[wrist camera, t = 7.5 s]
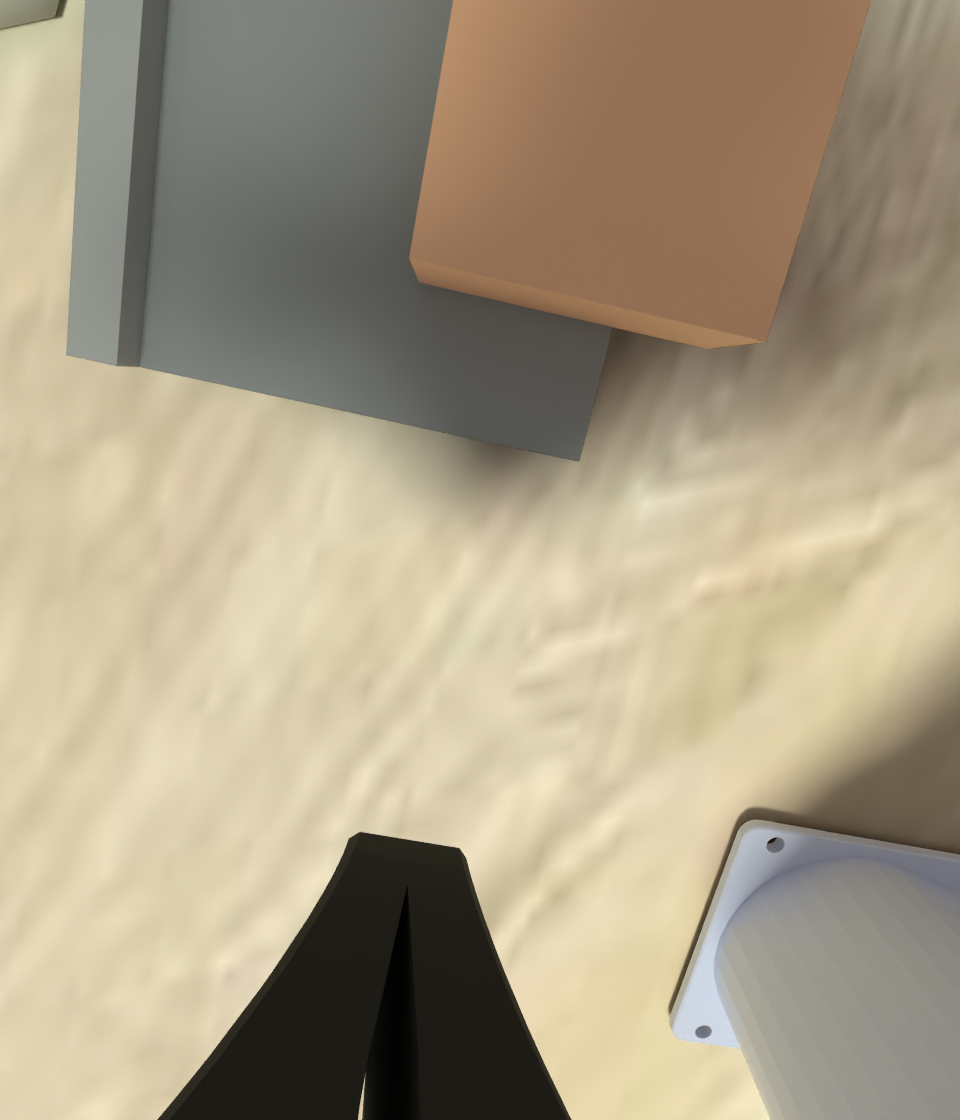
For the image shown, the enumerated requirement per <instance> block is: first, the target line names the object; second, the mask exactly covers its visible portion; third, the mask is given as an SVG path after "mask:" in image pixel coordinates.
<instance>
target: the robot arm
mask: <svg viewBox="0 0 960 1120" xmlns="http://www.w3.org/2000/svg"><path fill="white" fill-rule="evenodd" d="M774 837H778V838H777V839H776V841H774V842H773V843H768V844H767V842H768V841H769V840H770V839H772V838H774ZM669 1023H670V1026H671V1029H672V1032H673V1035H674V1036H675V1037H676V1038H678V1039H680V1040H683V1041H690V1042H697V1043H704V1044H711V1045H718V1046H725V1047H732V1048H739V1049H741V1050H742V1053H743V1055H744V1058H745V1060H746V1062H747V1065H748V1067H749V1070H750V1072H751V1074H752V1077H753V1079H754V1081H755V1084H756V1086H757V1089H758V1091H759V1093H760V1096H761V1098H762V1101H763V1103H764V1105H765V1108H766V1110H767V1112H768V1115H769V1117H770V1120H960V854H954V853H948V852H942V851H937V850H931V849H925V848H919V847H914V846H908V845H902V844H896V843H890V842H885V841H879V840H873V839H867V838H862V837H856V836H850V835H844V834H839V833H833V832H827V831H821V830H816V829H810V828H804V827H798V826H792V825H787V824H781V823H775V822H769V821H764V820H751V821H748V822H746V823H744V824H743V825H742V826H741V827H740V829H739V830H738V832H737V835H736V837H735V840H734V843H733V846H732V848H731V851H730V854H729V857H728V859H727V862H726V865H725V868H724V870H723V873H722V876H721V878H720V881H719V884H718V887H717V889H716V892H715V895H714V898H713V900H712V903H711V906H710V908H709V911H708V914H707V917H706V919H705V922H704V925H703V928H702V930H701V933H700V936H699V938H698V941H697V944H696V947H695V949H694V952H693V955H692V958H691V960H690V963H689V966H688V968H687V971H686V974H685V977H684V979H683V982H682V985H681V988H680V990H679V993H678V996H677V998H676V1001H675V1004H674V1007H673V1009H672V1012H671V1015H670V1019H669ZM365 1072H366V1073H365ZM364 1078H365V1088H364V1103H363V1118H362V1120H571V1118H570V1116H569V1114H568V1112H567V1110H566V1108H565V1106H564V1104H563V1101H562V1099H561V1097H560V1095H559V1093H558V1091H557V1089H556V1087H555V1085H554V1083H553V1081H552V1079H551V1077H550V1075H549V1072H548V1070H547V1068H546V1066H545V1064H544V1062H543V1060H542V1058H541V1055H540V1053H539V1051H538V1049H537V1047H536V1044H535V1042H534V1040H533V1038H532V1036H531V1033H530V1031H529V1029H528V1027H527V1024H526V1022H525V1020H524V1017H523V1015H522V1012H521V1010H520V1008H519V1005H518V1003H517V1001H516V998H515V996H514V993H513V991H512V989H511V986H510V984H509V981H508V979H507V977H506V974H505V972H504V969H503V967H502V964H501V962H500V959H499V957H498V954H497V951H496V949H495V946H494V944H493V941H492V938H491V935H490V932H489V930H488V927H487V924H486V921H485V919H484V916H483V913H482V910H481V907H480V904H479V901H478V898H477V895H476V892H475V888H474V885H473V882H472V878H471V875H470V871H469V868H468V864H467V860H466V857H465V856H464V854H463V853H462V851H461V850H460V848H455V847H449V846H443V845H437V844H431V843H424V842H418V841H412V840H406V839H400V838H394V837H388V836H381V835H375V834H369V833H363V832H359V833H357V834H356V835H354V836H352V837H351V838H349V840H348V843H347V845H346V848H345V851H344V853H343V856H342V858H341V860H340V862H339V864H338V866H337V868H336V870H335V872H334V874H333V876H332V878H331V880H330V882H329V883H328V885H327V887H326V889H325V891H324V892H323V894H322V896H321V897H320V899H319V901H318V902H317V904H316V906H315V907H314V909H313V911H312V912H311V914H310V916H309V917H308V919H307V921H306V922H305V924H304V925H303V927H302V928H301V930H300V931H299V933H298V934H297V936H296V937H295V939H294V940H293V942H292V943H291V945H290V946H289V948H288V949H287V951H286V952H285V954H284V955H283V957H282V958H281V960H280V961H279V963H278V964H277V966H276V967H275V969H274V970H273V972H272V973H271V974H270V976H269V977H268V979H267V980H266V982H265V983H264V984H263V986H262V987H261V988H260V990H259V991H258V992H257V994H256V995H255V996H254V998H253V999H252V1000H251V1002H250V1003H249V1004H248V1006H247V1007H246V1008H245V1010H244V1011H243V1012H242V1014H241V1015H240V1016H239V1018H238V1019H237V1020H236V1022H235V1023H234V1024H233V1026H232V1027H231V1028H230V1030H229V1031H228V1032H227V1034H226V1035H225V1036H224V1038H223V1039H222V1040H221V1042H220V1043H219V1044H218V1045H217V1047H216V1048H215V1049H214V1051H213V1052H212V1053H211V1055H210V1056H209V1057H208V1059H207V1060H206V1061H205V1062H204V1064H203V1065H202V1066H201V1067H200V1069H199V1070H198V1071H197V1072H196V1074H195V1075H194V1076H193V1077H192V1078H191V1080H190V1081H189V1082H188V1083H187V1085H186V1086H185V1087H184V1088H183V1090H182V1091H181V1092H180V1093H179V1095H178V1096H177V1097H176V1098H175V1099H174V1101H173V1102H172V1103H171V1104H170V1105H169V1107H168V1108H167V1109H166V1110H165V1111H164V1113H163V1114H162V1115H161V1116H160V1117H159V1119H158V1120H358V1114H359V1106H360V1100H361V1094H362V1089H363V1083H364Z"/></svg>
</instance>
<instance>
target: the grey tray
mask: <svg viewBox="0 0 960 1120" xmlns="http://www.w3.org/2000/svg"><path fill="white" fill-rule="evenodd" d="M452 5H453V0H85V14H84V33H83V52H82V71H81V90H80V108H79V127H78V146H77V165H76V183H75V202H74V221H73V240H72V259H71V277H70V296H69V315H68V334H67V352H66V355H68V356H72V357H77V358H82V359H86V360H91V361H96V362H100V363H105V364H110V365H114V366H130V367H142V368H147V369H152V370H156V371H161V372H166V373H170V374H175V375H179V376H184V377H189V378H193V379H198V380H203V381H207V382H212V383H216V384H221V385H226V386H230V387H235V388H240V389H244V390H249V391H254V392H258V393H263V394H267V395H272V396H277V397H281V398H286V399H291V400H295V401H300V402H304V403H309V404H314V405H318V406H323V407H328V408H332V409H337V410H342V411H346V412H351V413H355V414H360V415H365V416H369V417H374V418H379V419H383V420H388V421H392V422H397V423H402V424H406V425H411V426H416V427H420V428H425V429H429V430H434V431H439V432H443V433H448V434H453V435H457V436H462V437H467V438H471V439H476V440H480V441H485V442H490V443H494V444H499V445H504V446H508V447H513V448H517V449H522V450H527V451H531V452H536V453H541V454H545V455H550V456H555V457H559V458H564V459H568V460H573V461H578V462H579V460H580V456H581V452H582V448H583V444H584V440H585V437H586V433H587V429H588V425H589V421H590V417H591V413H592V409H593V405H594V401H595V397H596V393H597V389H598V385H599V381H600V377H601V373H602V369H603V365H604V361H605V358H606V354H607V350H608V346H609V342H610V338H611V334H612V330H613V327H609V326H605V325H601V324H596V323H592V322H588V321H583V320H579V319H575V318H570V317H566V316H562V315H557V314H553V313H549V312H544V311H540V310H536V309H531V308H527V307H523V306H518V305H514V304H510V303H505V302H501V301H497V300H493V299H488V298H484V297H480V296H475V295H471V294H467V293H462V292H458V291H454V290H449V289H445V288H441V287H436V286H432V285H428V284H423V283H419V281H418V278H417V276H416V274H415V271H414V269H413V267H412V264H411V262H410V259H409V256H410V250H411V244H412V238H413V232H414V226H415V221H416V215H417V209H418V203H419V197H420V191H421V185H422V180H423V174H424V168H425V162H426V156H427V150H428V145H429V139H430V133H431V127H432V121H433V115H434V110H435V104H436V98H437V92H438V86H439V80H440V75H441V69H442V63H443V57H444V51H445V45H446V40H447V34H448V28H449V22H450V16H451V10H452Z"/></svg>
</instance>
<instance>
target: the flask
mask: <svg viewBox="0 0 960 1120" xmlns="http://www.w3.org/2000/svg"><path fill="white" fill-rule="evenodd" d="M58 4H59V0H0V29H1V28H6V27H10V26H15V25H20V24H25V23H29V22H34V21H39V20H44V19H48V18H53V17H55V15H56V11H57V7H58Z"/></svg>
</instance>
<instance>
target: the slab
mask: <svg viewBox="0 0 960 1120" xmlns="http://www.w3.org/2000/svg"><path fill="white" fill-rule="evenodd" d="M870 3H871V0H453V5H452V10H451V16H450V22H449V28H448V34H447V40H446V45H445V51H444V57H443V63H442V69H441V75H440V80H439V86H438V92H437V98H436V104H435V110H434V115H433V121H432V127H431V133H430V139H429V145H428V150H427V156H426V162H425V168H424V174H423V180H422V185H421V191H420V197H419V203H418V209H417V215H416V221H415V226H414V232H413V238H412V244H411V250H410V256H409V259H410V262H411V264H412V267H413V269H414V271H415V274H416V276H417V278H418V281H419V283H423V284H428V285H432V286H436V287H441V288H445V289H449V290H454V291H458V292H462V293H467V294H471V295H475V296H480V297H484V298H488V299H493V300H497V301H501V302H505V303H510V304H514V305H518V306H523V307H527V308H531V309H536V310H540V311H544V312H549V313H553V314H557V315H562V316H566V317H570V318H575V319H579V320H583V321H588V322H592V323H596V324H601V325H605V326H609V327H613V328H618V329H622V330H626V331H631V332H635V333H639V334H644V335H648V336H652V337H657V338H661V339H665V340H670V341H674V342H678V343H683V344H687V345H691V346H696V347H700V348H704V349H710V348H719V347H727V346H735V345H744V344H752V343H761V342H766V340H767V337H768V334H769V330H770V327H771V324H772V321H773V317H774V314H775V311H776V308H777V304H778V301H779V298H780V295H781V291H782V288H783V285H784V282H785V278H786V275H787V272H788V269H789V265H790V262H791V259H792V256H793V252H794V249H795V246H796V243H797V240H798V236H799V233H800V230H801V227H802V223H803V220H804V217H805V214H806V210H807V207H808V204H809V201H810V197H811V194H812V191H813V188H814V184H815V181H816V178H817V175H818V171H819V168H820V165H821V162H822V158H823V155H824V152H825V149H826V145H827V142H828V139H829V136H830V132H831V129H832V126H833V123H834V119H835V116H836V113H837V110H838V106H839V103H840V100H841V97H842V93H843V90H844V87H845V84H846V80H847V77H848V74H849V71H850V67H851V64H852V61H853V58H854V55H855V51H856V48H857V45H858V42H859V38H860V35H861V32H862V29H863V25H864V22H865V19H866V16H867V12H868V9H869V6H870Z"/></svg>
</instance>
